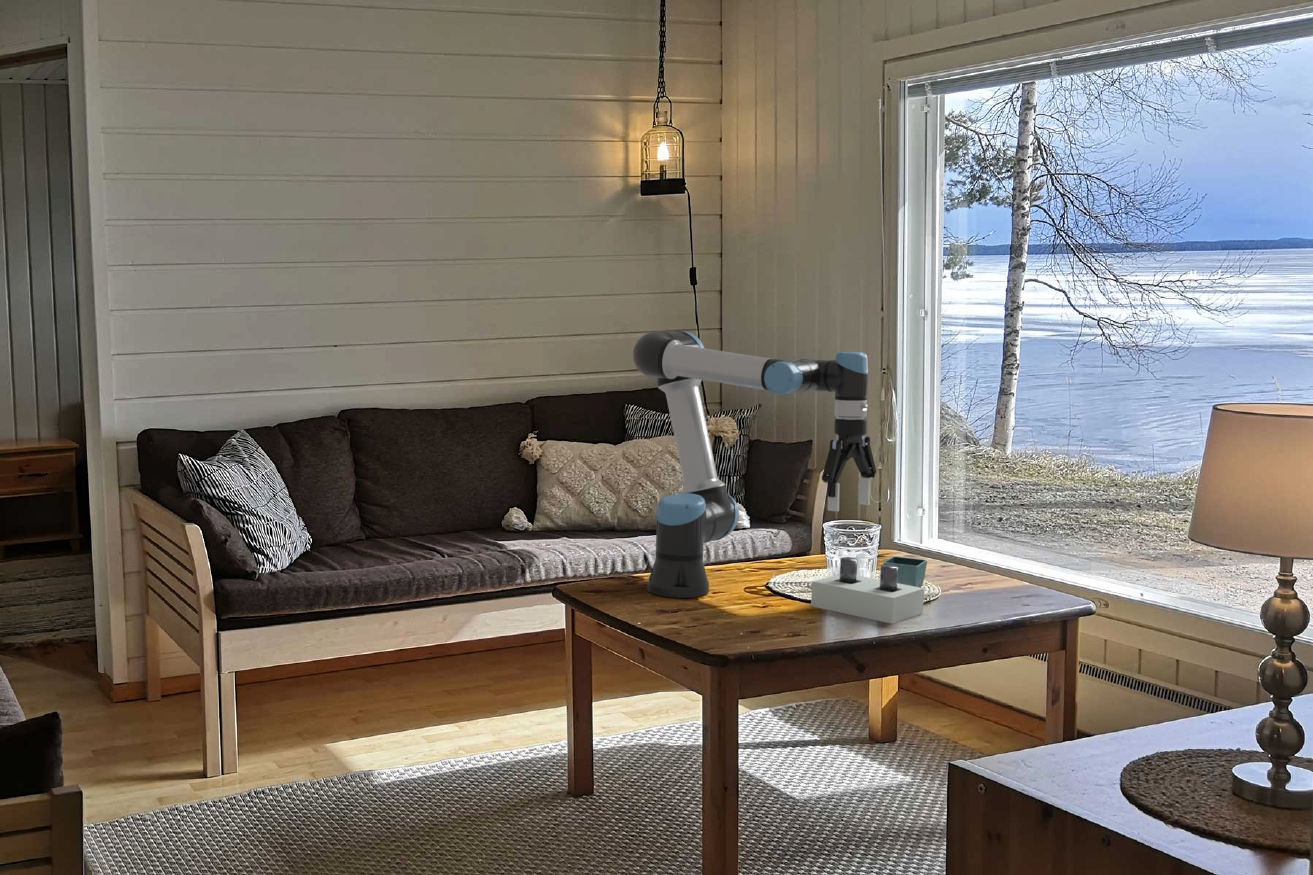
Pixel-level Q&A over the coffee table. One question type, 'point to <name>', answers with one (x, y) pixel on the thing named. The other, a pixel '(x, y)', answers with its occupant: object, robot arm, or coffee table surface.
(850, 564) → the left peg
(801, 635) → the coffee table surface
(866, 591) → the peg block
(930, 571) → the coffee table surface
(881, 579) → the right peg
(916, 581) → the flower pot
